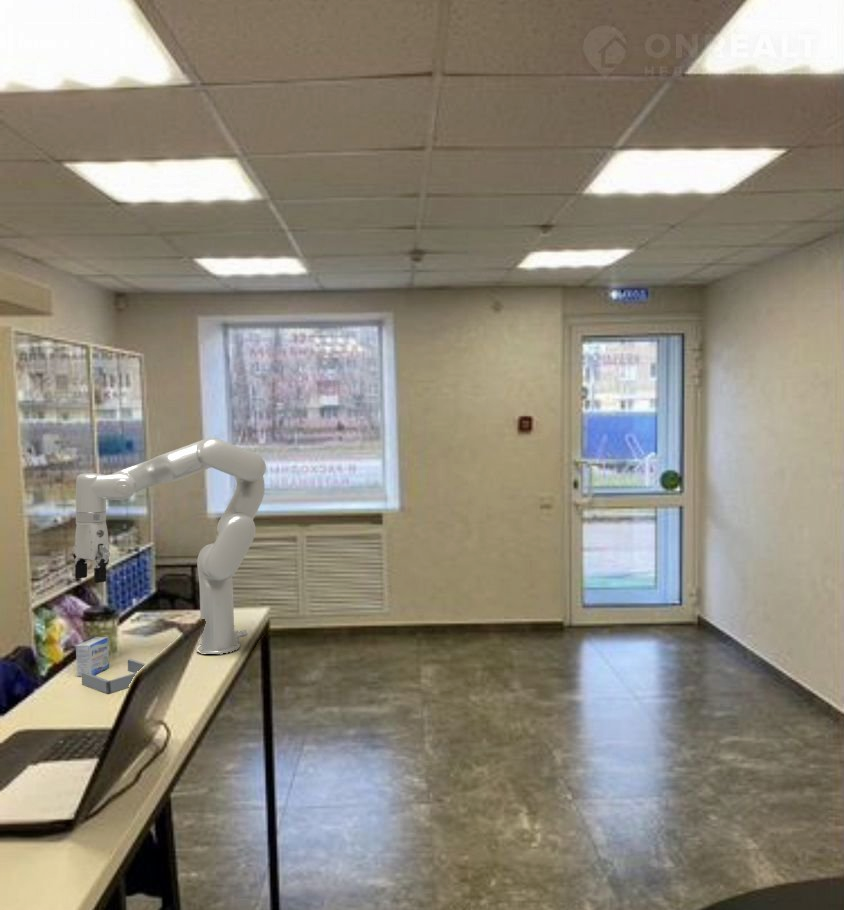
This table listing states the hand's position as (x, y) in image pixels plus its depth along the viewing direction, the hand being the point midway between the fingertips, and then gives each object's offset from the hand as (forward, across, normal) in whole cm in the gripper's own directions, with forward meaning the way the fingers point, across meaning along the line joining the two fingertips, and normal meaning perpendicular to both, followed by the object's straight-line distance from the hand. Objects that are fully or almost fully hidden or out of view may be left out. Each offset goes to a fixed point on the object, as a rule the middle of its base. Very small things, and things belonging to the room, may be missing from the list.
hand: (90, 580), depth 198 cm
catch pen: (+24, -16, +1) cm, 29 cm away
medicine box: (+25, -3, +1) cm, 25 cm away
